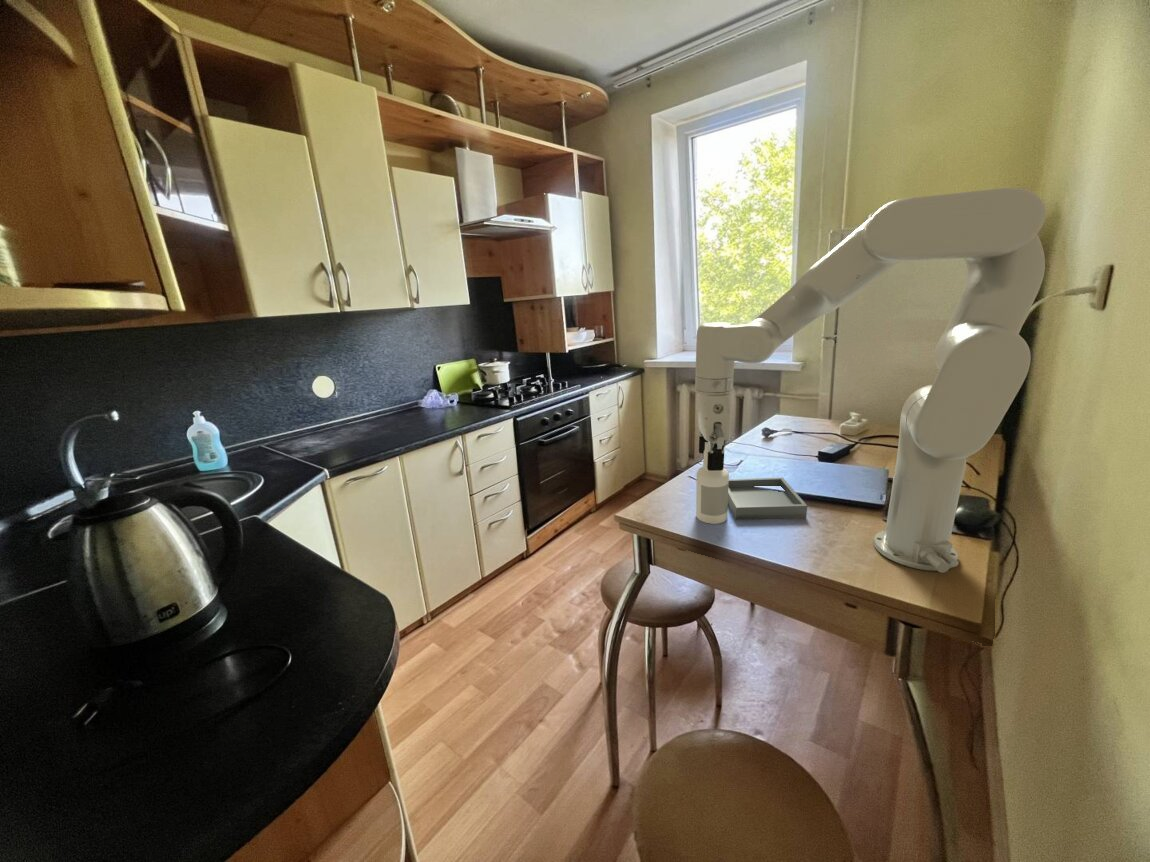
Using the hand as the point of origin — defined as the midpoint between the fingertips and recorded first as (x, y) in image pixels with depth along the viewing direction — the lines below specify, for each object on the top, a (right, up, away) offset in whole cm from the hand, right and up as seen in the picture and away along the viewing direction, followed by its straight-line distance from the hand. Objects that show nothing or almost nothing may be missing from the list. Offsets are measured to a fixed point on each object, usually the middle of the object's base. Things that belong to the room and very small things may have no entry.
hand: (710, 461), depth 98 cm
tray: (+14, -11, +8) cm, 20 cm away
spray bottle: (+1, -13, +4) cm, 14 cm away
